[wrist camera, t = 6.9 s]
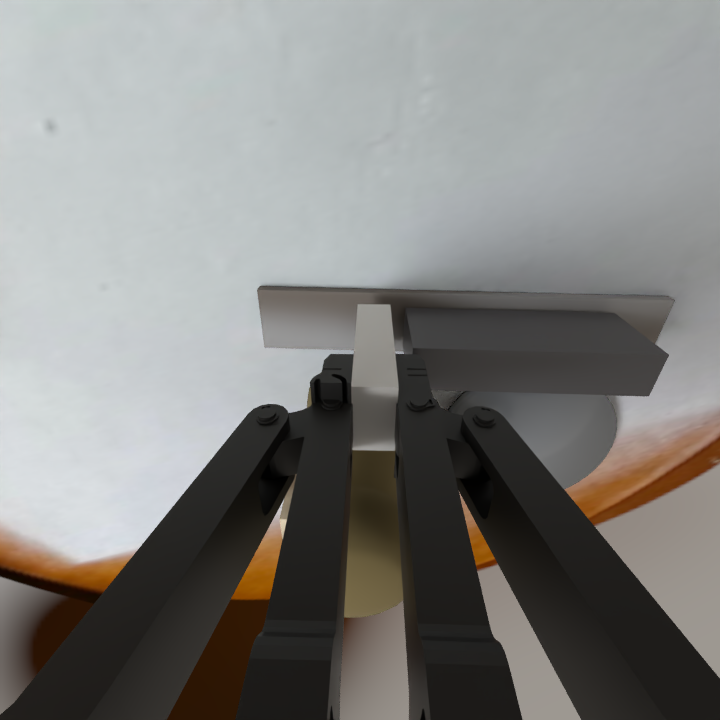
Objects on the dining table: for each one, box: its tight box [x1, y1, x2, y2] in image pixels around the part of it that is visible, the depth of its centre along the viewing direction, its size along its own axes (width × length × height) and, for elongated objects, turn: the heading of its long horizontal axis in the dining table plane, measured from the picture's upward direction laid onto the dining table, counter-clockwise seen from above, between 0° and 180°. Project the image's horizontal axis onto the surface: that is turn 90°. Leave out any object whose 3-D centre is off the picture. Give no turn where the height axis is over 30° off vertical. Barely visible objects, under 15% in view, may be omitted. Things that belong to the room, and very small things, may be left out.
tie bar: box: [403, 308, 669, 396], centre depth 18 cm, size 2×10×4 cm, turn 89°
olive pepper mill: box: [307, 372, 403, 617], centre depth 18 cm, size 6×6×11 cm
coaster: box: [448, 391, 617, 489], centre depth 23 cm, size 10×10×1 cm
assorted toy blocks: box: [257, 286, 675, 540], centre depth 21 cm, size 14×20×5 cm
